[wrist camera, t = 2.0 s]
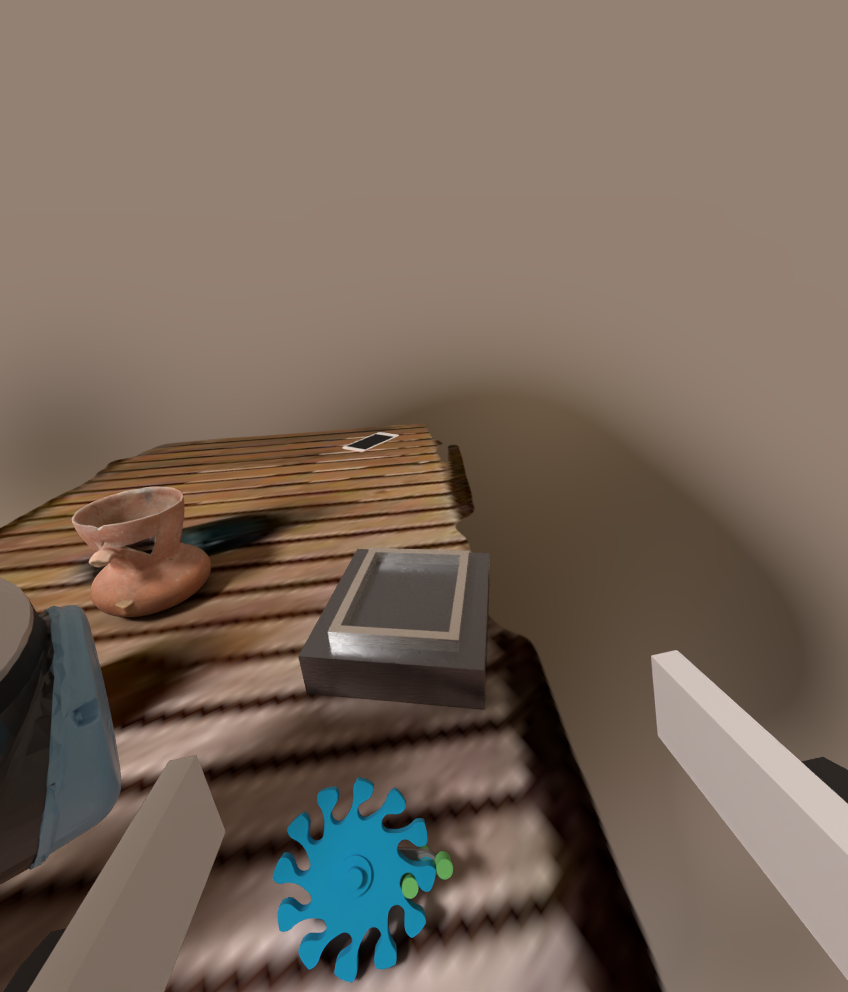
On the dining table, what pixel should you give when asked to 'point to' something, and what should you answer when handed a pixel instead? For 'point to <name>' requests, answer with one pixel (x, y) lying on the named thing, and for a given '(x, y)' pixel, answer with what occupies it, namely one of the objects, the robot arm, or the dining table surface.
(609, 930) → the dining table surface
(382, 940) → the gear
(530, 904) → the dining table surface
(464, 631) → the grey open tray
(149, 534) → the ceramic jug
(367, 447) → the cell phone
